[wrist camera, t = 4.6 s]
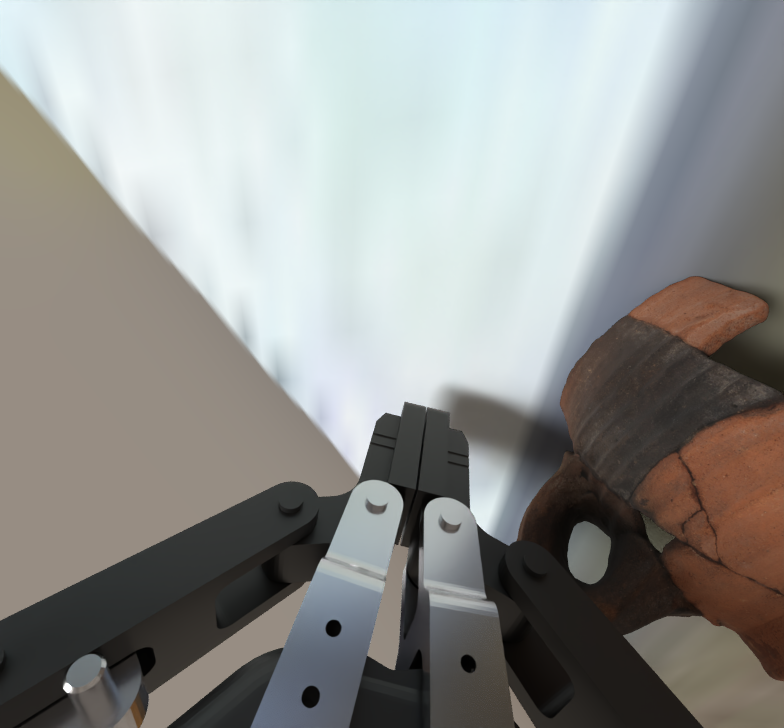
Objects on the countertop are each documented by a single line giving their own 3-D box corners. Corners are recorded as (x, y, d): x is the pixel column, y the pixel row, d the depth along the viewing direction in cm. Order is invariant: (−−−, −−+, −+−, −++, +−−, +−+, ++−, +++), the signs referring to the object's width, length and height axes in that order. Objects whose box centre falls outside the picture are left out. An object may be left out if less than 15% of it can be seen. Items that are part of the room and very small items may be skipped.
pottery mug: (795, 171, 10) (1533, 409, 5) (752, 356, 17) (1030, 546, 11) (414, 435, 12) (597, 818, 7) (510, 507, 19) (641, 729, 13)
